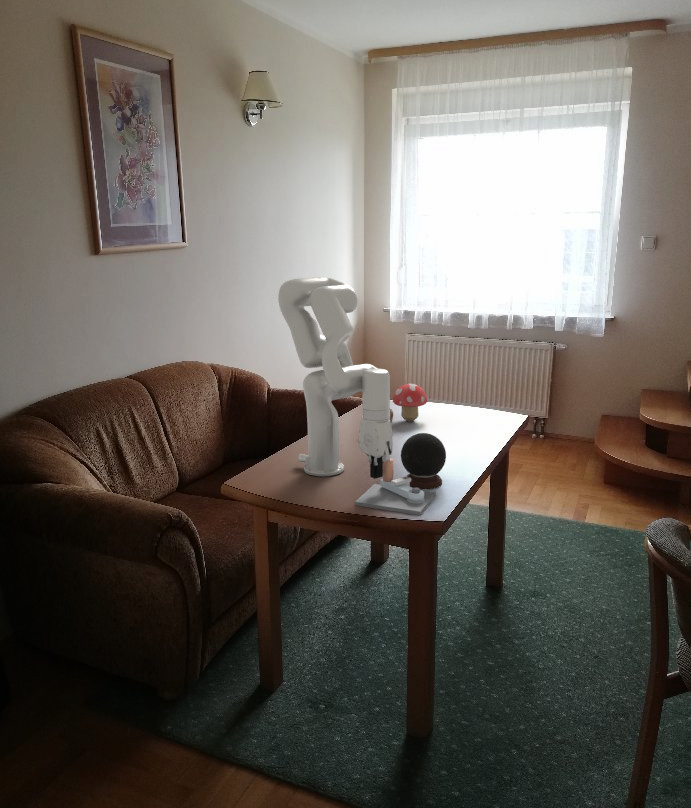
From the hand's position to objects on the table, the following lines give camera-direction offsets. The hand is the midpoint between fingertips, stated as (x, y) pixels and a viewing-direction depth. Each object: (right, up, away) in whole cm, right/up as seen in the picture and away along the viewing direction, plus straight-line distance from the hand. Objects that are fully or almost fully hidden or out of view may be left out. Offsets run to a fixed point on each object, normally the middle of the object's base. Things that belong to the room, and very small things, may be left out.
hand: (376, 477), depth 190 cm
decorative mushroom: (+16, +14, +75) cm, 78 cm away
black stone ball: (+14, -3, +9) cm, 17 cm away
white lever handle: (+7, -4, -2) cm, 9 cm away
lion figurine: (+3, +9, +59) cm, 60 cm away
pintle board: (+5, -6, -4) cm, 9 cm away
